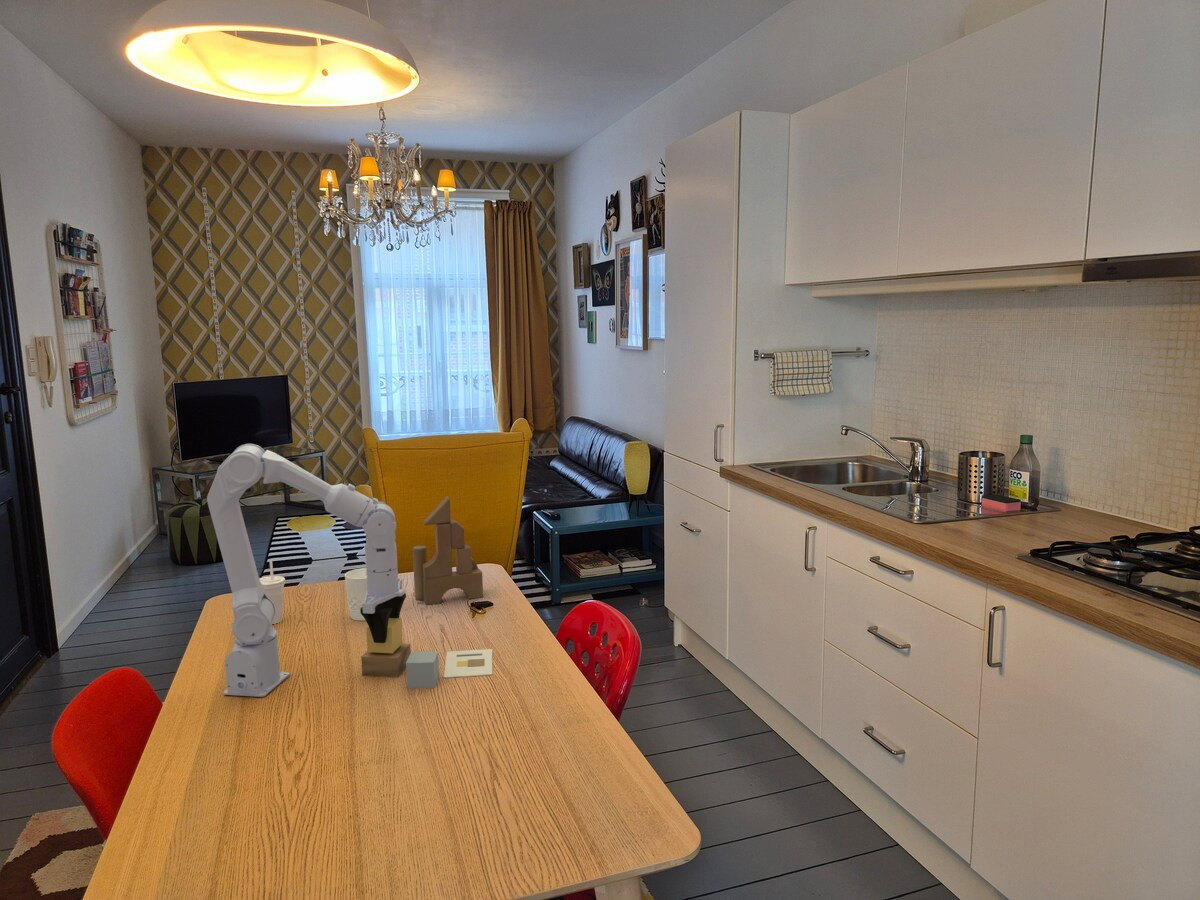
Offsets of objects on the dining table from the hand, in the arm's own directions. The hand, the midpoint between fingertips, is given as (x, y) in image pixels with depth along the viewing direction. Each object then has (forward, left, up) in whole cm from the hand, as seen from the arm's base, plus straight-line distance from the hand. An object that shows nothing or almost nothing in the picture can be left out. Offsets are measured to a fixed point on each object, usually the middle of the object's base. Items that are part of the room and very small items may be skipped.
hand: (385, 636), depth 157 cm
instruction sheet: (+4, -15, -6) cm, 17 cm away
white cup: (+27, +16, -7) cm, 32 cm away
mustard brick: (0, 0, -2) cm, 2 cm away
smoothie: (+21, +35, -7) cm, 41 cm away
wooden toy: (+41, +1, -7) cm, 42 cm away
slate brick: (-5, -9, -6) cm, 12 cm away
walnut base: (0, 0, -7) cm, 7 cm away
